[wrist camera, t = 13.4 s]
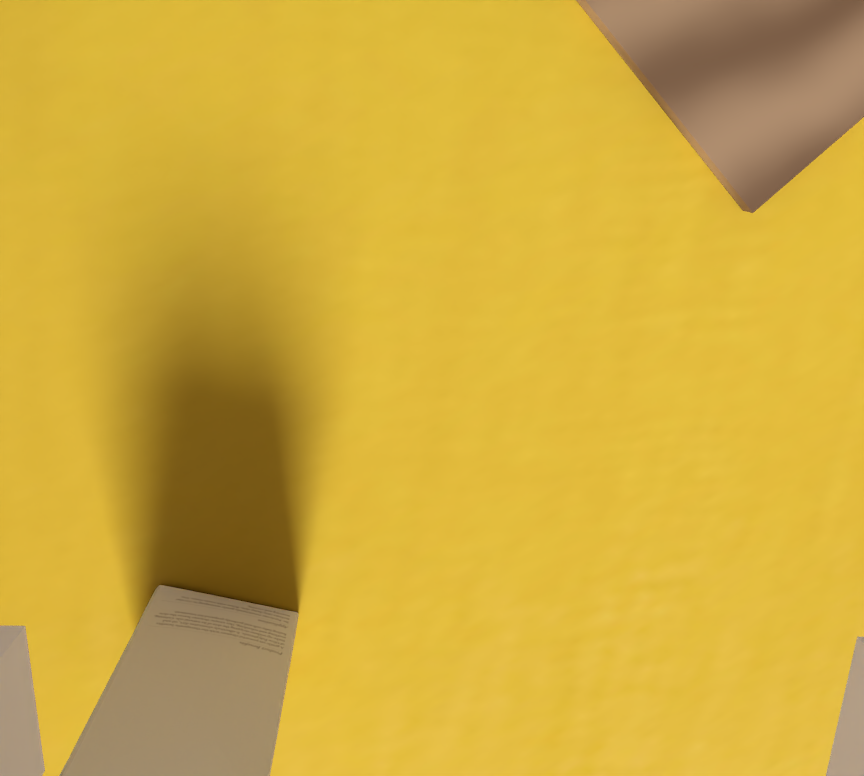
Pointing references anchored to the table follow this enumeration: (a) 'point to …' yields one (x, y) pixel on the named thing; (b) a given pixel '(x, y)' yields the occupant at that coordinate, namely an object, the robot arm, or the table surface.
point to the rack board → (746, 79)
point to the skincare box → (192, 691)
